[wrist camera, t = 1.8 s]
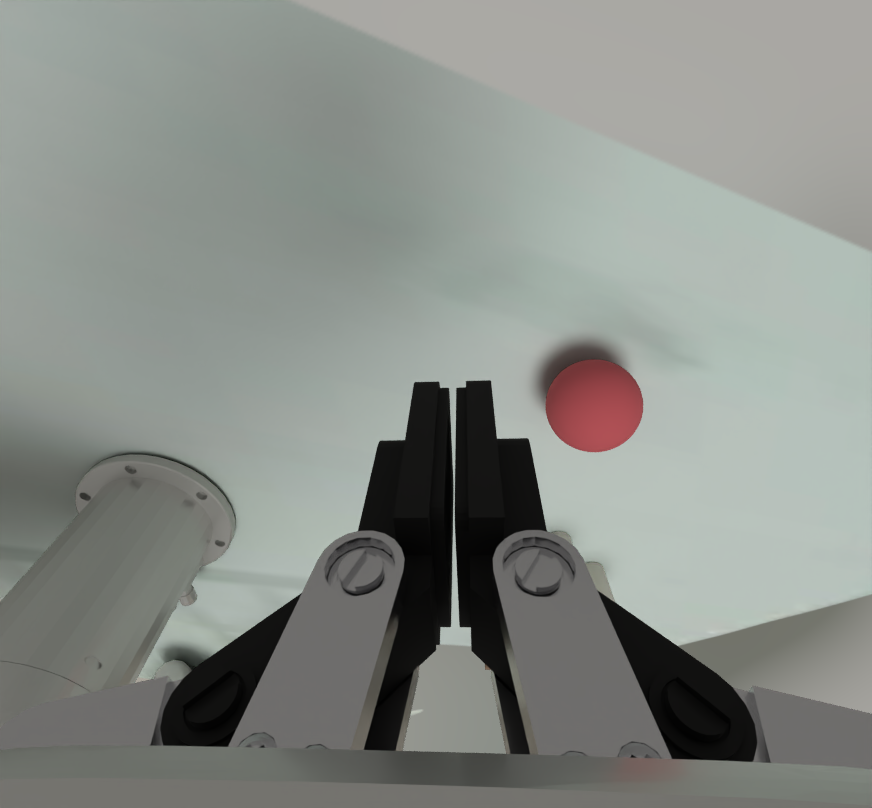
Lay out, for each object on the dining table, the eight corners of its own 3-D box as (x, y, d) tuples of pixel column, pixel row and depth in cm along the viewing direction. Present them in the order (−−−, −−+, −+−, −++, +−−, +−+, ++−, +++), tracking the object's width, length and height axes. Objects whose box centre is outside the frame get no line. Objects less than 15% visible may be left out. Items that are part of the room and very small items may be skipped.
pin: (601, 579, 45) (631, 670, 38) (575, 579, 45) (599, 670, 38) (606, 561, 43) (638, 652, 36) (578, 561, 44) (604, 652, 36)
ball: (617, 417, 35) (646, 471, 30) (535, 418, 35) (550, 471, 30) (633, 343, 32) (668, 388, 27) (542, 344, 32) (561, 389, 27)
